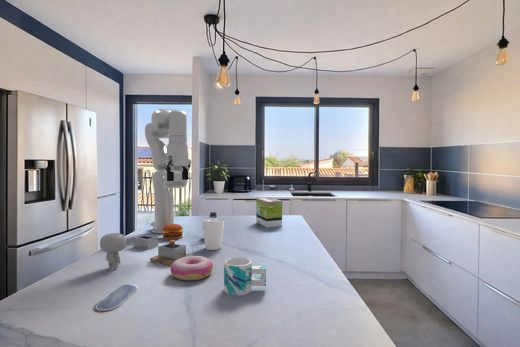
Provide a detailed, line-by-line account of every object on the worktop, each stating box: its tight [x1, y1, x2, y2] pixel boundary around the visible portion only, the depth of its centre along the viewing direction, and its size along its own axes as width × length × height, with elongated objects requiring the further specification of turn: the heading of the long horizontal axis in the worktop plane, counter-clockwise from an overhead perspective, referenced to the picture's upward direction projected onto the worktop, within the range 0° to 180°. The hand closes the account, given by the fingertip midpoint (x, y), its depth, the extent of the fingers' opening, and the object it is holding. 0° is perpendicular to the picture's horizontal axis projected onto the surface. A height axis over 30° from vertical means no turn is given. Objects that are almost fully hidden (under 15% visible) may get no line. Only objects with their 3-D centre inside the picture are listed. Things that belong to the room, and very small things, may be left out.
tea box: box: [255, 197, 283, 229], centre depth 183 cm, size 15×10×15 cm, turn 25°
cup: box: [202, 217, 225, 251], centre depth 135 cm, size 9×9×12 cm
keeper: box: [149, 240, 195, 266], centre depth 119 cm, size 12×10×7 cm
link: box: [157, 242, 187, 260], centre depth 119 cm, size 8×6×4 cm
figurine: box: [99, 232, 127, 270], centre depth 110 cm, size 8×8×12 cm
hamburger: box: [162, 223, 184, 241], centre depth 152 cm, size 9×10×7 cm
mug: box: [223, 256, 267, 296], centre depth 93 cm, size 8×12×8 cm
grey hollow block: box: [133, 234, 159, 251], centre depth 137 cm, size 8×6×4 cm
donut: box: [170, 255, 214, 281], centre depth 104 cm, size 14×13×5 cm
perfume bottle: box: [209, 211, 218, 218], centre depth 153 cm, size 6×6×12 cm
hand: (178, 180), depth 138 cm, fingers open, 9 cm apart
